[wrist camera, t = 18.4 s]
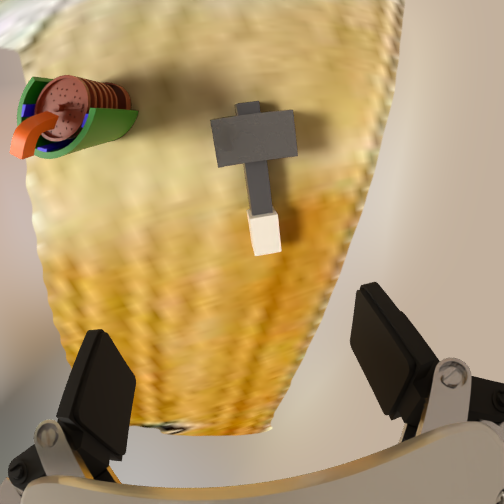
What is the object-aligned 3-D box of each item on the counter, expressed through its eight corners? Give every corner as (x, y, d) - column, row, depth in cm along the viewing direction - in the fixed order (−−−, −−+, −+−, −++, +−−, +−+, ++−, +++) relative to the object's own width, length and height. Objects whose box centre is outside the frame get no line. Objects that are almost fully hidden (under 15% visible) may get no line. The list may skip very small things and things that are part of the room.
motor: (146, 90, 32) (86, 73, 15) (127, 148, 36) (60, 181, 18) (86, 79, 29) (3, 69, 12) (71, 135, 33) (-15, 162, 15)
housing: (211, 119, 36) (210, 120, 30) (281, 110, 36) (292, 109, 31) (217, 159, 38) (218, 167, 33) (286, 149, 39) (297, 156, 33)
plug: (230, 105, 35) (232, 103, 31) (259, 101, 35) (263, 100, 32) (251, 244, 45) (255, 256, 42) (276, 240, 46) (281, 251, 42)
